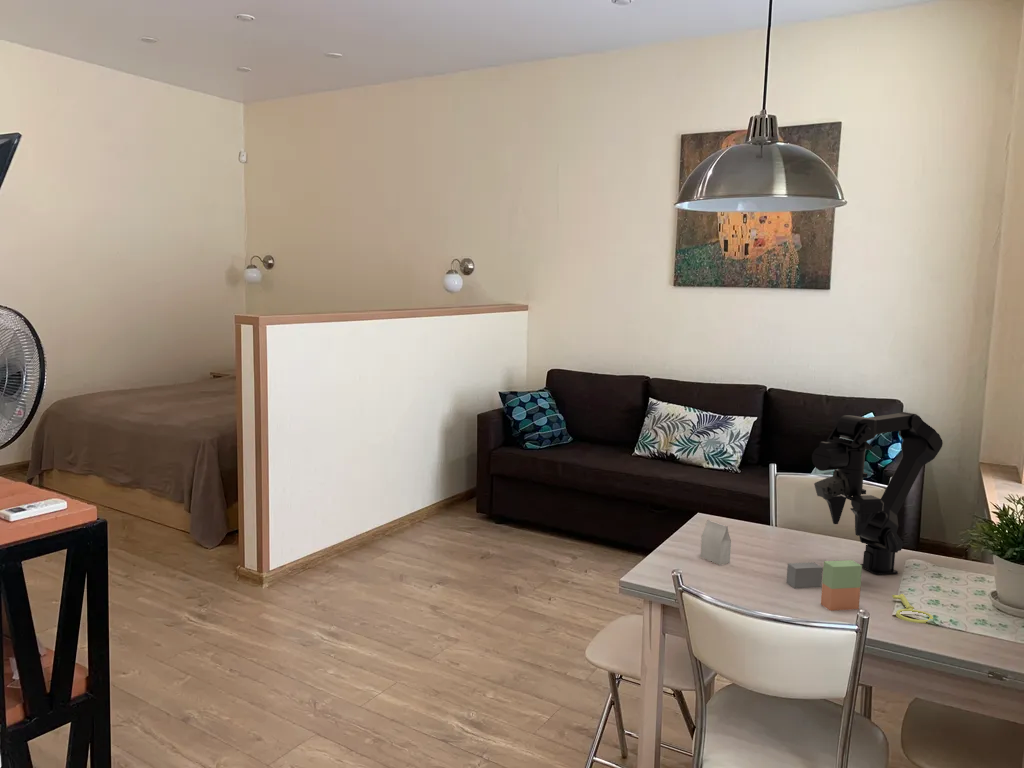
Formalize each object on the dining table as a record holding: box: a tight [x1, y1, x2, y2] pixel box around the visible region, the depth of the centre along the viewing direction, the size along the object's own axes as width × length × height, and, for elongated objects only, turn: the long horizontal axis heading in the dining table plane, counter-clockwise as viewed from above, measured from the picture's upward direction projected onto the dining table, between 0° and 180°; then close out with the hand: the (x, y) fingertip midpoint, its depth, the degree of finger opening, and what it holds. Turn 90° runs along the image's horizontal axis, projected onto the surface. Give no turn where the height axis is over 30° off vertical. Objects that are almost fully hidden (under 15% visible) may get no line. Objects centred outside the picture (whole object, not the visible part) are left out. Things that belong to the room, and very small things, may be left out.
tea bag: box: [699, 519, 732, 566], centre depth 200 cm, size 4×7×10 cm, turn 32°
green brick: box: [822, 559, 863, 589], centre depth 171 cm, size 7×4×5 cm, turn 100°
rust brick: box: [820, 583, 861, 612], centre depth 172 cm, size 7×4×5 cm, turn 100°
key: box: [891, 593, 934, 624], centre depth 170 cm, size 7×12×2 cm, turn 7°
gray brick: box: [786, 561, 823, 589], centre depth 184 cm, size 7×4×5 cm, turn 100°
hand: (846, 529), depth 189 cm, fingers open, 9 cm apart
